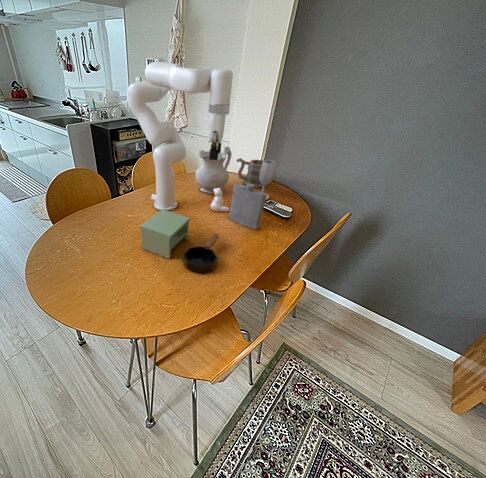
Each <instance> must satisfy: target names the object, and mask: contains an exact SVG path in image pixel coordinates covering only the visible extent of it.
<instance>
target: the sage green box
mask: <svg viewBox="0 0 486 478" xmlns="http://www.w3.org/2000/svg"><path fill="white" fill-rule="evenodd" d="M190 221H191V217H189V216H185V215H183V214H179V213H176V212H172V211H170V210H168V211H166V210H159V211H158V212H157V213H155V214H154V215H152V216H150V217H149V218H148V219H147V220H146V221H144V222H143V223H142V224H140V225H139V229H140V232H141V234H140V235H141V246H142V250H145V251H148V252H150V253H153V254H155V255H158V256H160V257H164V258H166V259H170V258H171V257H172V254H171V253H172V250H173V249H174V248H175V247H176V245H178V244H179V242H181V241H182V240H185V241H188V240H189V230H190V228H189V227H190Z"/></svg>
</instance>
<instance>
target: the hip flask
mask: <svg viewBox="0 0 486 478" xmlns="http://www.w3.org/2000/svg"><path fill="white" fill-rule="evenodd" d="M254 188H255V187H254V184H250V183H248V184H245V185H242V184H239V183H236V184H233V191H232V196H231V197H232V198H231V205H230V209H229V216H228V219H229V220H231V221H233V222H234V223H237V224H239V225H241V226H243V227H246V228H249V229H252V230H255V231H256V230H259V229H260V224H261V221H262V216H263V212H264V207H265V204H266V201H267V200H266V196H267V195H268V194H267V192H265V191H264V192H262V191H258V190H256V189H254Z"/></svg>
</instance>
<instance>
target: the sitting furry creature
mask: <svg viewBox="0 0 486 478" xmlns="http://www.w3.org/2000/svg"><path fill="white" fill-rule="evenodd" d="M213 191H214V194H213V195H214V197H213V200H212V201H211V203H210V209H211V210H212V211H213V212H221V213H222V212H223V213H228V212H230V209H229V207H228V206H224V204H223V203H224V199H223V190H222V188H221V189H220V188H216V189H215V188H214V190H213Z"/></svg>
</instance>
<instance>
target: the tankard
mask: <svg viewBox="0 0 486 478" xmlns="http://www.w3.org/2000/svg"><path fill="white" fill-rule="evenodd" d="M235 161H236V163H239V162H240V164H241V165H240V167H239V169H238V171H237V176H238V179H240V180H244V181H243V184H244V185H246V184H248V183H250V184H254V188H255V189H256V188H257V189H258V188H262V187H263V185H262V184H261V183H260V182H259V172H260V169H261V166H262V164H263V162H264V160H263V159H251V160H250V161H246V160H245V159H243V158H242V157H240V158H237V159H236V160H235ZM245 165H246V166H247V173H246V175H243V174H242V172H243V170H244V169H245Z"/></svg>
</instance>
